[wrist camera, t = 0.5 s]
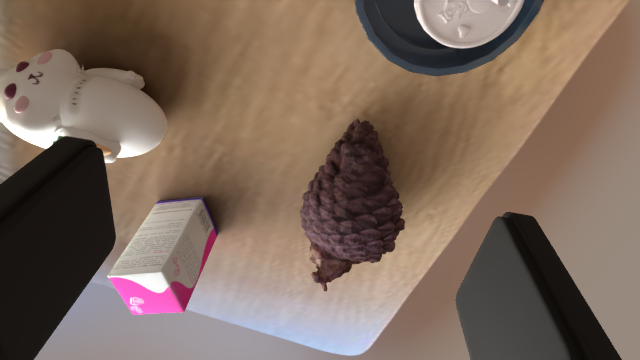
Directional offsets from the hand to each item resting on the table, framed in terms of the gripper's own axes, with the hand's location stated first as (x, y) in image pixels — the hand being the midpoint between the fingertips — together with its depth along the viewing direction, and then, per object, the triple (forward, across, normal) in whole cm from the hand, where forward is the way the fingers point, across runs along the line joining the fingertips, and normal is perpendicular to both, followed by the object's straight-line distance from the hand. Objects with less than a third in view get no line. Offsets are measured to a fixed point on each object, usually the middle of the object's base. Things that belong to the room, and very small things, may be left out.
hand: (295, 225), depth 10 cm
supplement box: (+29, +13, +26) cm, 41 cm away
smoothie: (+28, -8, -4) cm, 30 cm away
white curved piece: (+29, +21, +12) cm, 38 cm away
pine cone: (+29, -5, +17) cm, 34 cm away
